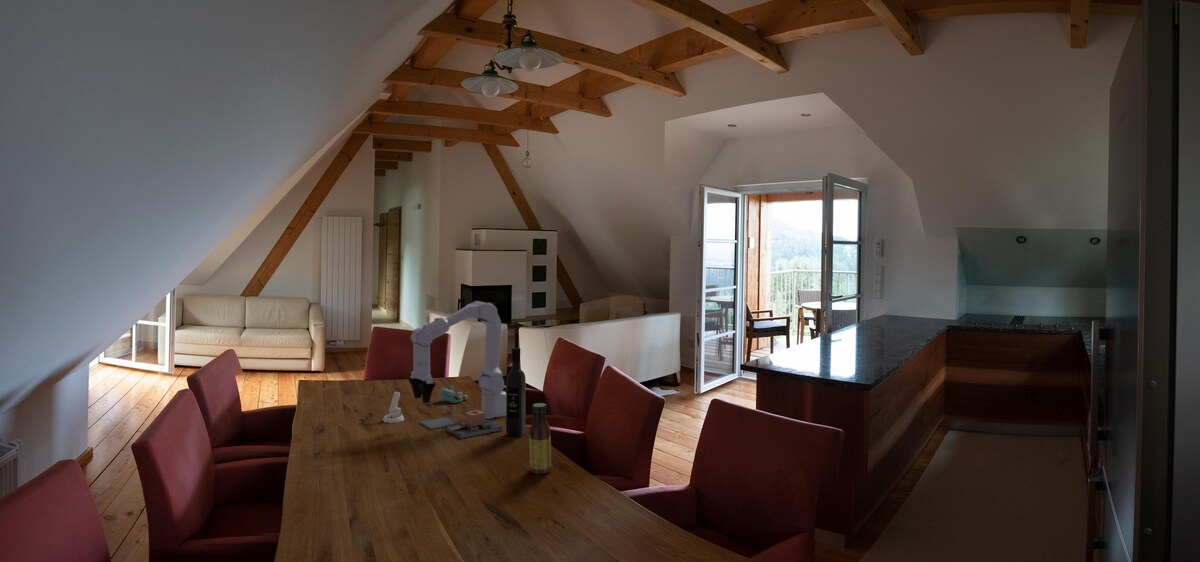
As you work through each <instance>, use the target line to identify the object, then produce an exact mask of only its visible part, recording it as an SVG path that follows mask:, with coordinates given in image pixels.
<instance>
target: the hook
mask: <svg viewBox="0 0 1200 562" xmlns="http://www.w3.org/2000/svg"><path fill="white" fill-rule="evenodd" d="M400 396H401V392H399V391H394V393H393V396H392V399H391V403H390V406H389V410H388V414H385V415H384V416H383V419H382V422H383V421H384V422H383V423H387V422H388V424H391V423H394V422H395V423H401V422H402V421H404V420H405V418H404V416H403V414H402V413H401V412H402V409H401V408H400V407H398V403H399V399H400ZM391 417H392V418H391ZM400 421H401V422H400Z"/></svg>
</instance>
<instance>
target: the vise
mask: <svg viewBox="0 0 1200 562" xmlns="http://www.w3.org/2000/svg"><path fill="white" fill-rule="evenodd" d="M458 423H459V424H457V425H454V426H448V427H446V431H447V432H448V433H449V434H452V435H454V437H455V436H456V437H457V438H459V439H461V440H462V439H467V438H472V437H476V436H477V435H478V436H481V435H482V434H483V435H487V433H488V434H492V433H491V432H493V433H498V432H501V431H502V430H504V426H502V425H500V423H497V422H494V421H493V420H490V419H485V424H483V425H478V426H472V427H471V426H469V425H468V424H466V423H465V421H461V422H458ZM497 431H498V432H497ZM483 435H482V436H483Z"/></svg>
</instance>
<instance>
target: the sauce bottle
mask: <svg viewBox="0 0 1200 562" xmlns="http://www.w3.org/2000/svg"><path fill="white" fill-rule="evenodd" d="M531 410H532V422H531V425H530V428H529V431H528V448H529V453H528V454H529V470H530V472H531V473H532V474H536V475H543V474H548V473H549V472H551V469H552V467H551V466H552V442H551V437H552V436H551V426H550V424H549V422H548V421H547V415H546V414H547V413H546V411H547V404H546V403H544V402H543V403H542V402H537V403H533V404H532V409H531Z"/></svg>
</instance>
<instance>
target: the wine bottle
mask: <svg viewBox="0 0 1200 562" xmlns="http://www.w3.org/2000/svg"><path fill="white" fill-rule="evenodd" d="M505 381H506V382H505V383H506V386H505V387H506V389H505V393H506V416H505V418H506V420H505V423H506V424H505V433H506V434H505V435H506V436H507V437H517V436H518V437H519V436H520V437H522V436H523V435H524V434H525V433H526V383H527V382H526V374H525V372H524V371H523V370H522V369H521V348H520V347H512V348H511V369H510V370H509V372H508V373H507V375H506V380H505ZM518 437H517V438H518ZM520 437H519V438H520Z"/></svg>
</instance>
